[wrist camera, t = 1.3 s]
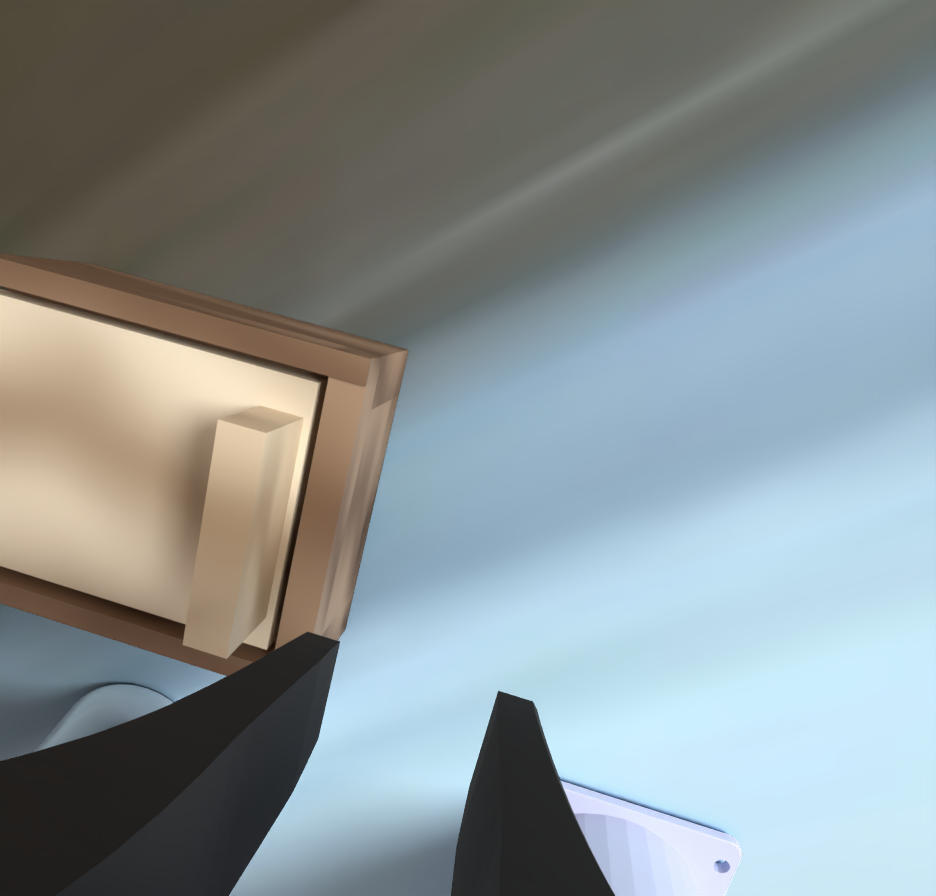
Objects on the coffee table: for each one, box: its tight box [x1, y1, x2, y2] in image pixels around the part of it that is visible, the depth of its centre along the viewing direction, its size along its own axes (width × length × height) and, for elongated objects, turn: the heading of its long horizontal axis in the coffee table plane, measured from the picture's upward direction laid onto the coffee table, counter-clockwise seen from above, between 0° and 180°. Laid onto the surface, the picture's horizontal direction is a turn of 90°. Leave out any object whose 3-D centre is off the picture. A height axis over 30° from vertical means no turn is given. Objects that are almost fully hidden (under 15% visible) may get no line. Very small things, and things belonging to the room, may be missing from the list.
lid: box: [0, 289, 328, 659], centre depth 17 cm, size 8×10×3 cm
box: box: [0, 254, 409, 676], centre depth 19 cm, size 10×11×4 cm
